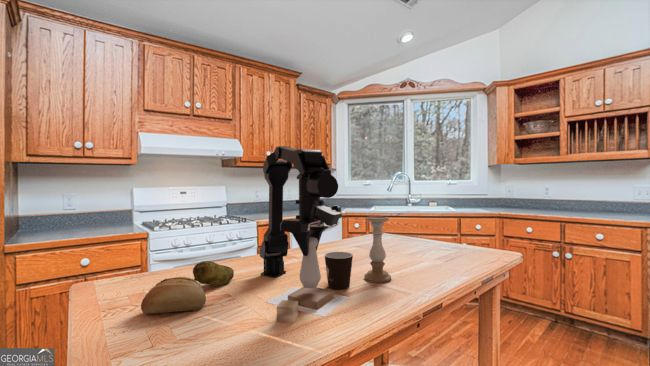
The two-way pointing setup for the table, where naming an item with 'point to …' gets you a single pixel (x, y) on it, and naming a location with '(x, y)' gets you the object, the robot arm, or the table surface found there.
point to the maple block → (287, 311)
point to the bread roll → (174, 296)
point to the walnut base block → (311, 297)
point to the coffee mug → (338, 269)
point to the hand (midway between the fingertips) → (309, 254)
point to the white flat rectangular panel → (321, 311)
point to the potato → (212, 273)
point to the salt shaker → (310, 266)
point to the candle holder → (377, 252)
